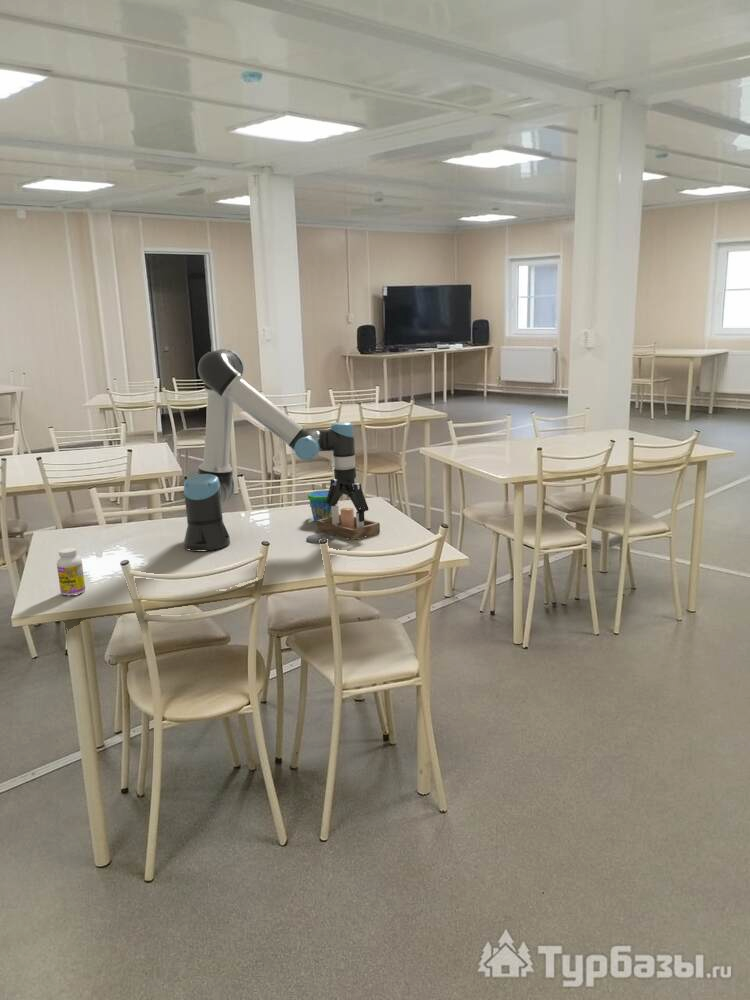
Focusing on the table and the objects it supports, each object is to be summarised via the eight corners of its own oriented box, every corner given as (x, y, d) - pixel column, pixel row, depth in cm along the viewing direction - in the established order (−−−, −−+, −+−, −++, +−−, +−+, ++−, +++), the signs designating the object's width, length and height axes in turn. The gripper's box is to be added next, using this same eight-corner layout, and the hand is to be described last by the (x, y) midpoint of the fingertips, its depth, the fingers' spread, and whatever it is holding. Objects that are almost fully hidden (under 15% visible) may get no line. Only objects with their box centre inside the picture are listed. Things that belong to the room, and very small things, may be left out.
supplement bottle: (56, 597, 216) (49, 553, 213) (69, 588, 223) (62, 546, 220) (78, 597, 215) (72, 553, 212) (90, 589, 222) (84, 546, 219)
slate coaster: (317, 544, 255) (317, 542, 255) (301, 539, 261) (301, 537, 261) (338, 538, 261) (338, 537, 260) (322, 533, 267) (322, 532, 267)
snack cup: (345, 522, 281) (344, 495, 279) (319, 526, 276) (317, 499, 274) (328, 513, 295) (326, 487, 292) (302, 517, 290) (300, 491, 287)
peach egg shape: (347, 533, 266) (346, 511, 264) (338, 531, 269) (337, 509, 267) (357, 531, 269) (356, 509, 267) (349, 528, 272) (347, 507, 270)
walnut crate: (353, 540, 258) (352, 530, 257) (317, 529, 272) (316, 520, 272) (379, 532, 265) (379, 522, 265) (343, 522, 280) (342, 513, 279)
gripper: (377, 470, 257) (379, 530, 262) (330, 461, 275) (334, 518, 280) (359, 473, 252) (363, 535, 257) (314, 465, 270) (317, 523, 275)
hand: (347, 527), depth 269 cm, fingers open, 13 cm apart
